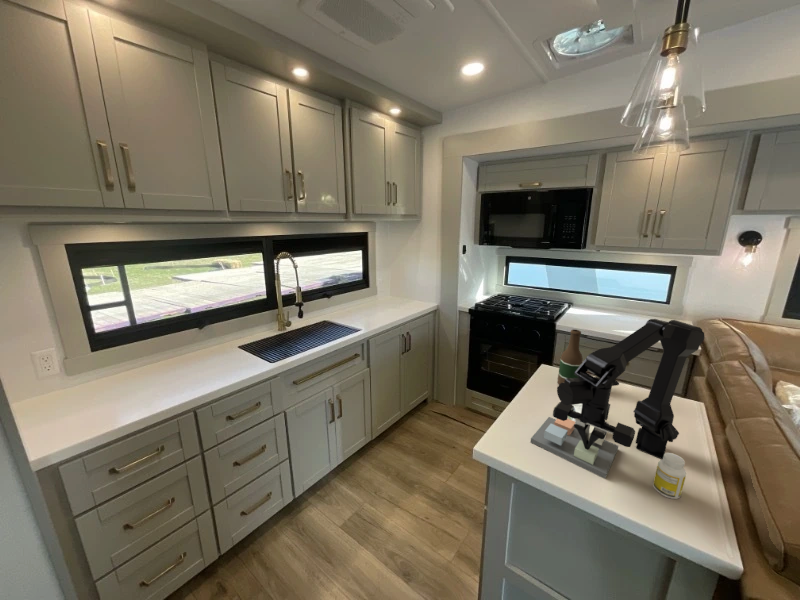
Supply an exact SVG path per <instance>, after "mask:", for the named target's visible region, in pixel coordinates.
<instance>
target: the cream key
mask: <svg viewBox="0 0 800 600" xmlns="http://www.w3.org/2000/svg"><path fill="white" fill-rule="evenodd" d="M593 429H594V426H591V425H590V429H589V438H590V435H591V433H592V431H593ZM606 437H607V435H606V436H605V437H604V439H600V438H599V439H597V440H596V441H595V443H597V444H599V445H602V443H603V441H604V440H606Z"/></svg>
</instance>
